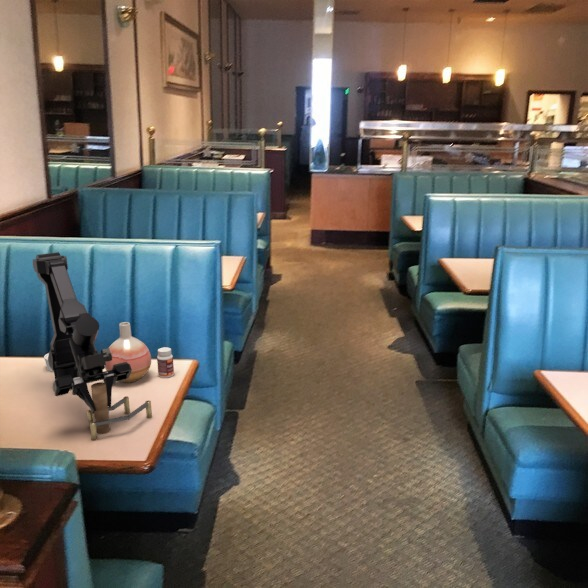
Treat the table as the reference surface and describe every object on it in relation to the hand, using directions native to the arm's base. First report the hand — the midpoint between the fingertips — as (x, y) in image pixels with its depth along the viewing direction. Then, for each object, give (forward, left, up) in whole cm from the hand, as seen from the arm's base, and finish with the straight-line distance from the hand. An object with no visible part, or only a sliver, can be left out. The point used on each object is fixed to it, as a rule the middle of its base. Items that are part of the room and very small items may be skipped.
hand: (102, 409), depth 155 cm
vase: (-4, +33, -7) cm, 34 cm away
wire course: (+2, +4, -7) cm, 8 cm away
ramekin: (-29, +41, -7) cm, 51 cm away
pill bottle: (+6, +36, -7) cm, 37 cm away
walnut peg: (-1, +1, -7) cm, 7 cm away
